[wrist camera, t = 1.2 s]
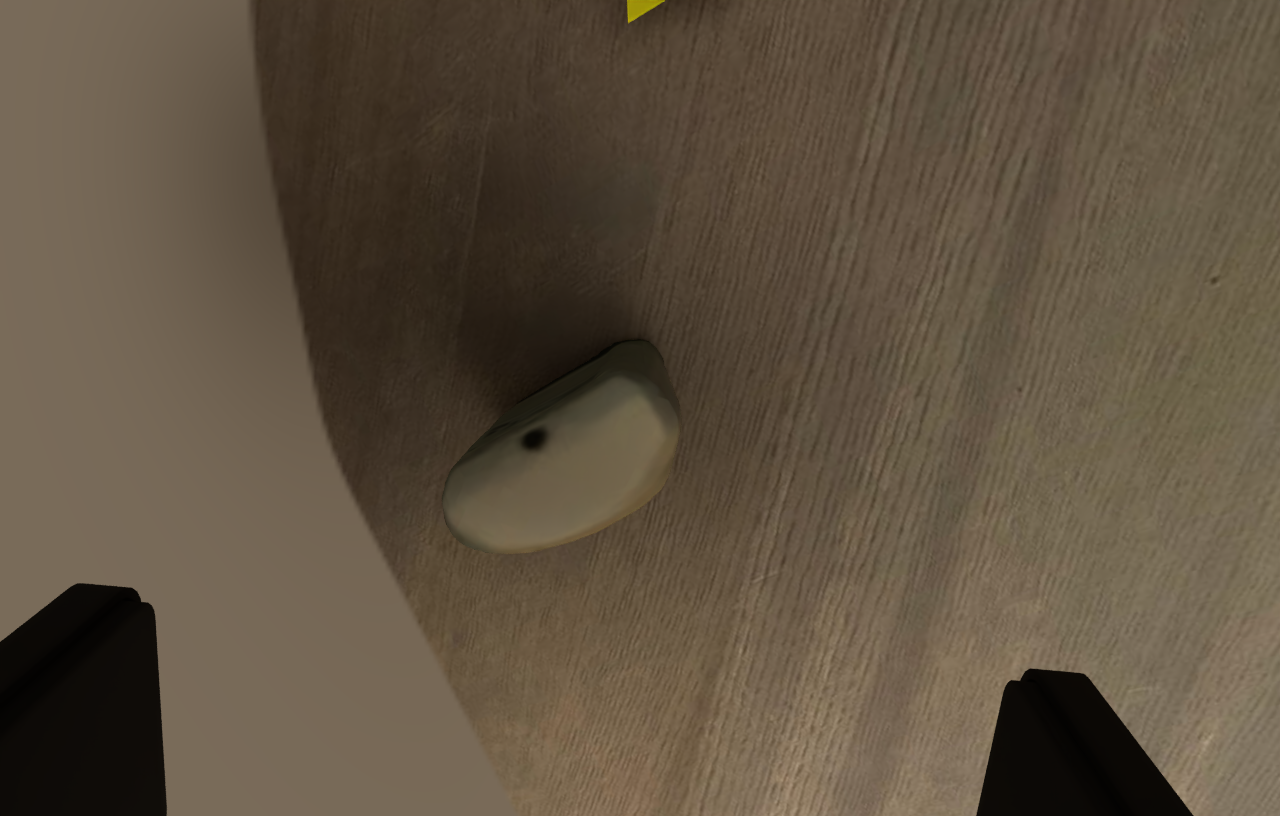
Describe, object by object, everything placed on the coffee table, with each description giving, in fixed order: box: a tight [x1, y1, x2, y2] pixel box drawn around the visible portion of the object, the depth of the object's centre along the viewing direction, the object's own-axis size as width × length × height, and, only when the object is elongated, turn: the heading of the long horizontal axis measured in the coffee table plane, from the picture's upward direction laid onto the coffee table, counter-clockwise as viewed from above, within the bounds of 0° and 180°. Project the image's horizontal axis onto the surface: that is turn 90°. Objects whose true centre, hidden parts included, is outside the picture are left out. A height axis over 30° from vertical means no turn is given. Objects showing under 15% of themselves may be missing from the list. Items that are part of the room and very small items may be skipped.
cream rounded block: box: [442, 339, 681, 554], centre depth 25 cm, size 6×5×8 cm
